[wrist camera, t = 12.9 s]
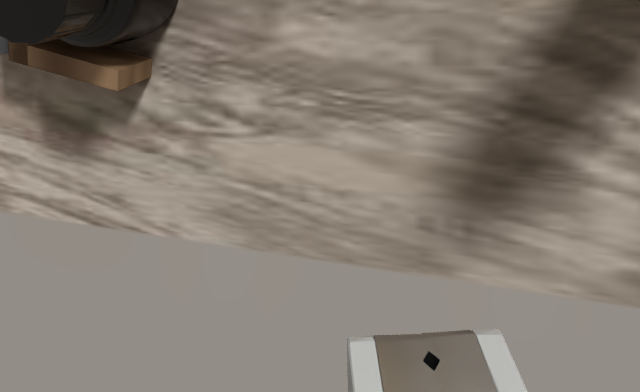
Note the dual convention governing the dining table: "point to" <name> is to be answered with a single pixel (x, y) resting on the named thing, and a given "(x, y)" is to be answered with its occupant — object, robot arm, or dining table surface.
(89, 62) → the cradle
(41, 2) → the ink bottle
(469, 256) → the dining table surface
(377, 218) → the dining table surface
